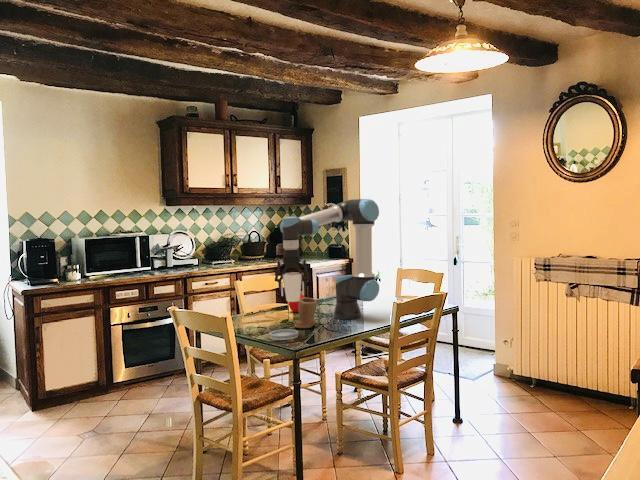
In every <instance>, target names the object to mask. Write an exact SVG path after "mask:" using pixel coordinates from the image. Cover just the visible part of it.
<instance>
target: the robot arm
mask: <svg viewBox="0 0 640 480" xmlns="http://www.w3.org/2000/svg"><path fill="white" fill-rule="evenodd" d="M379 215H380V208H379V206H378V204H377V202H376V201H375V200H374V199H370V198H359V199H348V200H347V199H346V200H345V201H341V202H339V203H338V202H337V204H333V205H331V207H329V208H325V209H322V210H319V211H314V212H312V213H308V214H305V215H302V216H299V217H298V216H283V217H282V220H281V222H280V225H279V229H280V233H282V248H283V253H282V254H283V260H277V264H276V265H277V268H276V273H275V277H274V281H275V282H277V283H278V289H279V290H280V293H281V297H284V283H283V279H282V278H283V274H285V273H287V270H288V269H296V270H297V273H299V274H302V282H301V289H302V290H301V291H302V295H303V296H305V289H306V288H307V282H308V281H309V280H310V279H311V277H310V274H309V271H308V268H307V260H306V259H301V258H300V248H299V247H300V244H299V241H300V239H299V238H300V237H301V236H302V237H303V236H313V235H316V234H318V233H319V230H320V227H321V226H324V225H328V224H331V223H333V222H336V223H340V222H352V225H353V227H354V228H355V272H354V274H346V275H340V276H337V277H336V278H335V299H336V301H335V302H336V305H335V307H334V311H333V318H334V319H337V320H355V319H356V320H357V319H359V318H361V317H362V312H361V308H360V305H359V303H358V301H362V302H372V301H374V300H375V299H376V298H378V297H377V296H378V294H379V293H380V284H379V283H378V281H377V280H376V279H375V274H374V273H373V271H372V270H373V266H372V265H373V261H372V260H373V257H372V256H373V255H372V254H373V252H372V251H373V250H372V249H373V246H372V245H373V243H372V242H373V238H372V234H373V232H372V228H373V226H375V221H376V220H378V217H379ZM282 264H283V265H284V269H283V271H282V273H281V275H280V277H279V273H280V269H281V266H282ZM299 264H301V265H302V266H303V269H304V272H305V275H306V277H305V275H304V273H303V272H302V270H301V269H300V267H299ZM278 277H279V278H278Z"/></svg>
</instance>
